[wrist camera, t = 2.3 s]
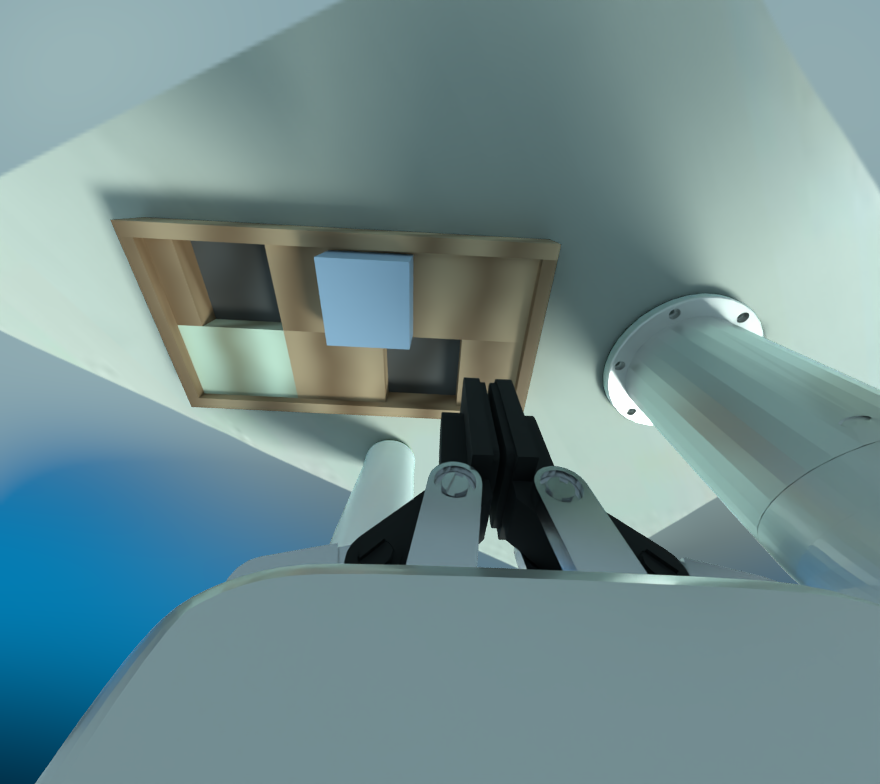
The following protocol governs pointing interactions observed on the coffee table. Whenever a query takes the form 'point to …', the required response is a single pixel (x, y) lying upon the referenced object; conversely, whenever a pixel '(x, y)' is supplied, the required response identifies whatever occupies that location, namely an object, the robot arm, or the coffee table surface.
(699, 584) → the robot arm
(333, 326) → the block
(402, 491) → the drinking glass
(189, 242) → the box
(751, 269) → the coffee table surface
